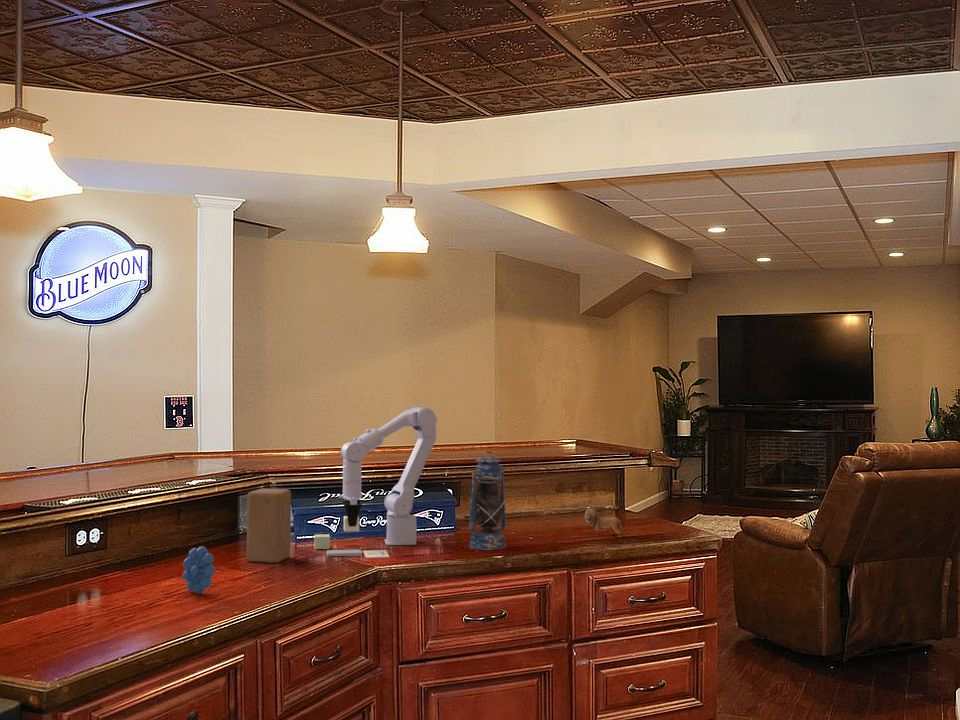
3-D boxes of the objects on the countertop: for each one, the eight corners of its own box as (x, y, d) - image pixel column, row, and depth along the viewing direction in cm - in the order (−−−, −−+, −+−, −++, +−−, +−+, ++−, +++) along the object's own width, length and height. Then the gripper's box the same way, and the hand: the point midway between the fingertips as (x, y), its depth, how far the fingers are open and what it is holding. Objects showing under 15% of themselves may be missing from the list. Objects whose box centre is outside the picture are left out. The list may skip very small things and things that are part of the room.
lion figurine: (582, 536, 334) (582, 509, 334) (586, 533, 339) (586, 507, 339) (625, 539, 329) (626, 512, 329) (629, 536, 334) (629, 510, 334)
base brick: (360, 554, 301) (360, 549, 301) (361, 557, 296) (361, 552, 296) (326, 555, 299) (326, 550, 299) (327, 558, 294) (327, 553, 294)
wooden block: (277, 564, 283) (278, 493, 283) (245, 562, 285) (246, 492, 285) (291, 557, 293) (292, 489, 293) (259, 555, 295) (260, 487, 295)
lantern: (483, 553, 303) (484, 454, 302) (456, 547, 311) (457, 451, 311) (518, 547, 313) (520, 451, 313) (491, 541, 322) (492, 448, 322)
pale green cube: (329, 547, 310) (329, 534, 310) (329, 549, 305) (329, 536, 305) (314, 547, 309) (314, 534, 309) (314, 550, 304) (315, 537, 304)
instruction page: (385, 550, 304) (386, 549, 304) (389, 557, 295) (389, 556, 295) (362, 551, 303) (363, 550, 303) (365, 557, 293) (365, 556, 293)
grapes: (227, 594, 247) (228, 546, 247) (204, 599, 241) (205, 550, 241) (198, 587, 254) (199, 540, 254) (175, 591, 249) (176, 543, 249)
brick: (358, 528, 312) (358, 515, 312) (359, 531, 308) (359, 518, 308) (343, 528, 312) (343, 516, 312) (344, 531, 307) (344, 518, 307)
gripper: (337, 478, 316) (337, 521, 316) (340, 484, 302) (340, 529, 302) (360, 477, 317) (359, 520, 318) (364, 483, 303) (363, 528, 303)
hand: (351, 524), depth 310 cm, fingers closed on brick, 4 cm apart
